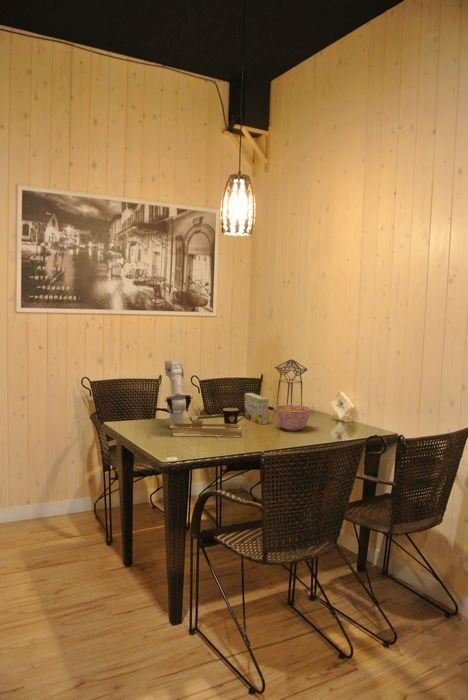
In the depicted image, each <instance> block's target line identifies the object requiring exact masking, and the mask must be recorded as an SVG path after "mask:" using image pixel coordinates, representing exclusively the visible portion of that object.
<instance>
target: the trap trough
mask: <svg viewBox="0 0 468 700" xmlns="http://www.w3.org/2000/svg"><path fill="white" fill-rule="evenodd" d="M172 433H185V434H200V435H223V436H241V437H242V423H237V424H224V423H202V428H192V422H191V423H186V422H183V423H174V427H172V429H171V434H172Z"/></svg>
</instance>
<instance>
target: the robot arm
mask: <svg viewBox="0 0 468 700" xmlns="http://www.w3.org/2000/svg"><path fill="white" fill-rule="evenodd" d="M164 373H165V376H167V377H168V378H169V382H170V392H171V394H170V395H169V396H164V402H165V403H166V406H167V407H166V409H167V412H169V426H170V425H172V426H174V423H184V411H186V413H188V412H189V406H190V405H191V402H192V399H194V396H193V395H194V394H193V393H185V391H184V390H185V389H184V377H185V375H184V369H183V360H182V359H165V360H164Z"/></svg>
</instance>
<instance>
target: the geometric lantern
mask: <svg viewBox="0 0 468 700" xmlns="http://www.w3.org/2000/svg"><path fill="white" fill-rule="evenodd" d="M281 366H282V367H281ZM301 367H302V368H301ZM274 369H276V370H277V371H278V373H279V379H278V389H277V397H276V404H275V405H276V406H279V405H278V404H279V395H280V387H281V382H282V383H285V384H287V394H286V397H287V398H286V405H289V396H290V405H293V392H294V391H293V387H294V384H298V383H299V384H300V397H301V398H300V403H301V404H300V406H303V380H302V374H304V373H306V371H308V368H307V367H305V366H304V365H302V364H300V363H298V362H297V361H296V360H294V359H287V360H286V361H284V362H283V363H281V364H278V365H277V366H274ZM291 369H292V370H291ZM289 372H293V373H294V374H295V375H294V376H293V377H292V378H290V376H289V374H288V373H289ZM286 375H287V377H286ZM282 376H284V378H285V381H284V380H283V379H281V378H282ZM298 376H299V378H300V380H297V379H296V377H298ZM287 378H288V379H287ZM294 381H295V382H294ZM276 406H275V407H276Z"/></svg>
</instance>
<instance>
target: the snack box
mask: <svg viewBox="0 0 468 700" xmlns="http://www.w3.org/2000/svg"><path fill="white" fill-rule="evenodd" d="M244 413H245V416H244V418H245V419H247V420H249V421H251V420H252V422H253V421H254V422H253V423H255V422H256V423H255V424H257V425H260V424H261V425H260V426H262V424H264V425H269V397H265V396H262V395H260V394H256V393H253V392H246V393H244Z"/></svg>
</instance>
